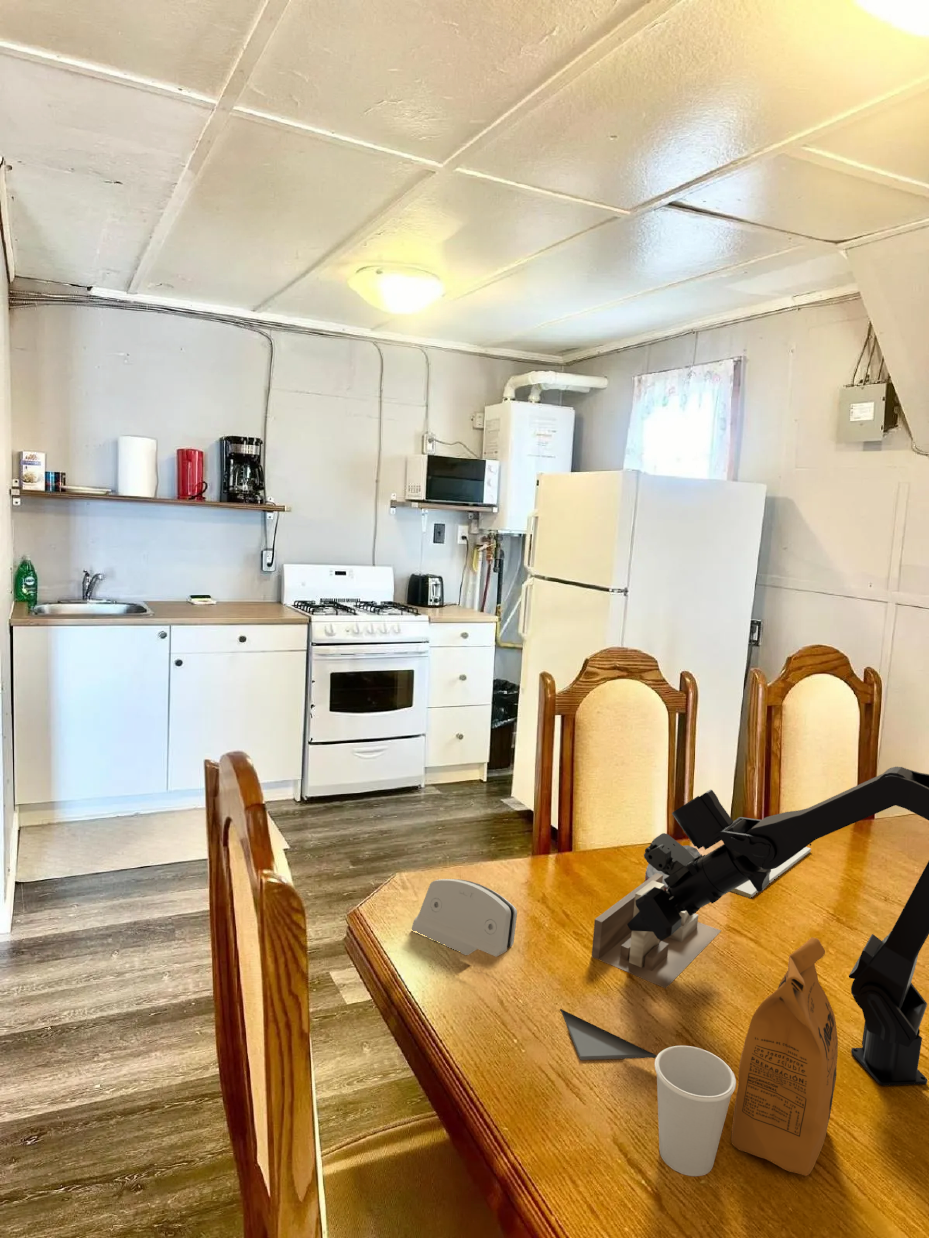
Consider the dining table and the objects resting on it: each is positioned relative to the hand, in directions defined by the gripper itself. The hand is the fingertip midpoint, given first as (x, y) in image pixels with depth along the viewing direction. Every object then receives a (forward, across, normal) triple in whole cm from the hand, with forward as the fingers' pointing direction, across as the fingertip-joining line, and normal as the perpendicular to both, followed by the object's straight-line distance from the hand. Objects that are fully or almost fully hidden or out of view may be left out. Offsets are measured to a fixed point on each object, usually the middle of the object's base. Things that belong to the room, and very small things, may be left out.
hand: (638, 919), depth 124 cm
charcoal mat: (+2, +17, +8) cm, 19 cm away
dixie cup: (-10, +31, +20) cm, 38 cm away
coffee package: (-15, +21, +25) cm, 36 cm away
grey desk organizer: (+4, -5, +6) cm, 9 cm away
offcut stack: (+3, -12, +5) cm, 13 cm away
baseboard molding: (+4, -51, +7) cm, 51 cm away
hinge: (+22, +13, -11) cm, 28 cm away
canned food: (+9, -27, +1) cm, 28 cm away
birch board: (+3, 0, +5) cm, 6 cm away
